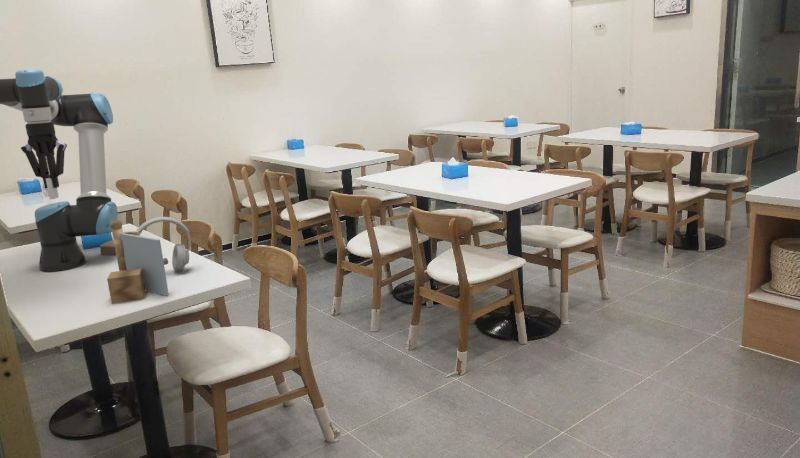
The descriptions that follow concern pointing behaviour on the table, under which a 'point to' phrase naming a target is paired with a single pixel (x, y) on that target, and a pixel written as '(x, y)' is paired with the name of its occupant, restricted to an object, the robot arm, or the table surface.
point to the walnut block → (126, 285)
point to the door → (146, 260)
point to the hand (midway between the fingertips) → (54, 198)
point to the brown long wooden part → (116, 231)
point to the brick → (108, 248)
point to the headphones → (179, 251)
